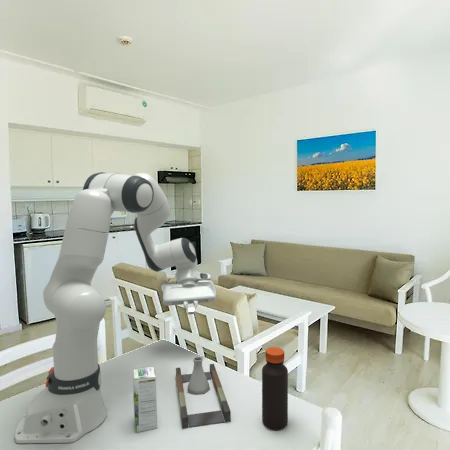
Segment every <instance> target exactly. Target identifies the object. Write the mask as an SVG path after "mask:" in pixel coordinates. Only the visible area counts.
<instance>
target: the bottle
mask: <svg viewBox="0 0 450 450" xmlns="http://www.w3.org/2000/svg"><path fill="white" fill-rule="evenodd" d="M265 362H266V363H265V364H264V365H263V366H262V368H261V387H262V388H261V393H262V394H261V419H262V424H263V426H264V427H265V428H267V429H269V430H270V431H271V430H272V431H281V430H283V429H285V428H286V427H287V426H288V424H289V423H288V422H289V420H288V419H289V415H288V414H289V408H288V407H289V405H288V404H289V400H288V399H289V369H288V368H287V366H286V365H285V364H284V363H285V350H284V349H282V348H280V347H275V346H274V347H273V346H272V347H268V348H267V349H265Z"/></svg>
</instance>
